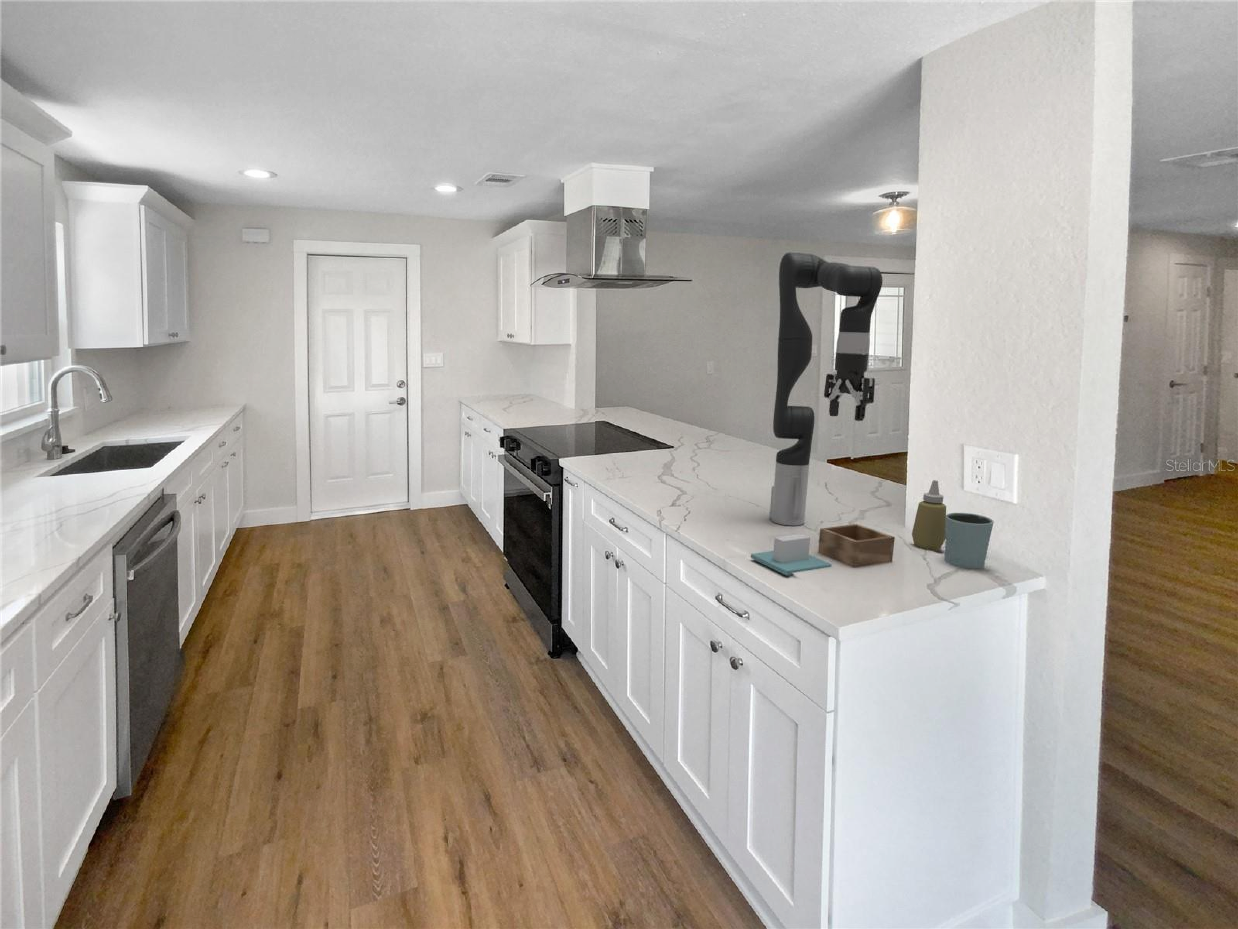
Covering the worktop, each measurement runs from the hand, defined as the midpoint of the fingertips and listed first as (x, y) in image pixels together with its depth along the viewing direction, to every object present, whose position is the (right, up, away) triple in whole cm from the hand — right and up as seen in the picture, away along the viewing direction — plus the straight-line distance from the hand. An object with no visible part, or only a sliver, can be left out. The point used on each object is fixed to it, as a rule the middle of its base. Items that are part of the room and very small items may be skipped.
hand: (846, 418), depth 176 cm
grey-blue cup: (+26, -36, -5) cm, 45 cm away
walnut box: (+1, -35, -4) cm, 35 cm away
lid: (-16, -35, -9) cm, 40 cm away
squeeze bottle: (+23, -33, +7) cm, 41 cm away
